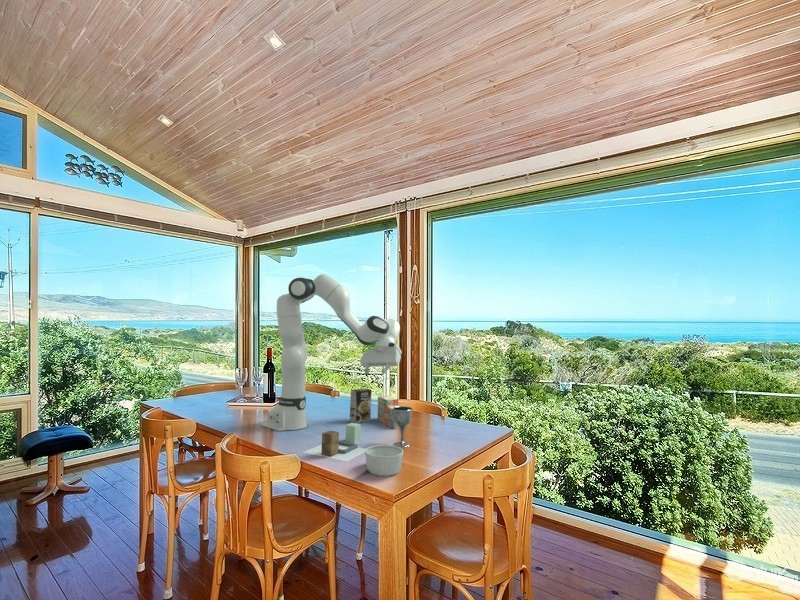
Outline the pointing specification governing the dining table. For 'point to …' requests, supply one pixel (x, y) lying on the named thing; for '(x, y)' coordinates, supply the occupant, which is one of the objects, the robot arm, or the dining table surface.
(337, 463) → the dining table surface
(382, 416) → the colourful cardboard box
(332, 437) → the walnut block
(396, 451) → the ramekin
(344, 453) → the board
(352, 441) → the sage block
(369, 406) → the coffee box
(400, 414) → the wine glass
